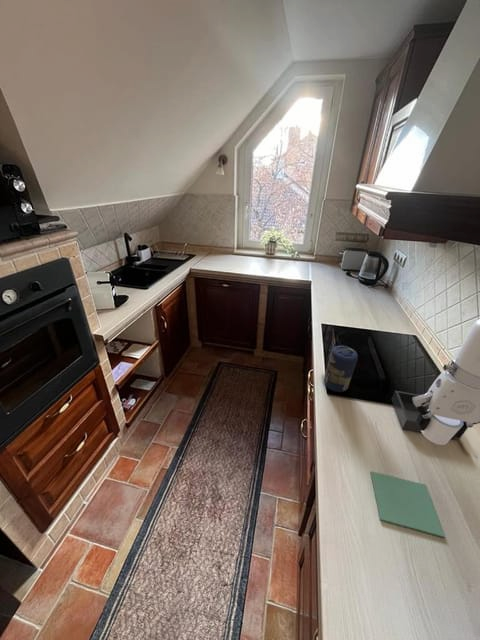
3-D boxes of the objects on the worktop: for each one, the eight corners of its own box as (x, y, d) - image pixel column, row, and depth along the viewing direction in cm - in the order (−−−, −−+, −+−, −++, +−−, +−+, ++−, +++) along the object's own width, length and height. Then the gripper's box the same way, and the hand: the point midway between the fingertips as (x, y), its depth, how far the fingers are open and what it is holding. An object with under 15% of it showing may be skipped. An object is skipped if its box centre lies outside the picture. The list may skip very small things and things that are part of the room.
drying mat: (424, 485, 69) (425, 484, 69) (444, 538, 59) (445, 537, 59) (370, 472, 72) (370, 471, 72) (379, 520, 62) (380, 519, 62)
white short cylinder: (411, 427, 65) (422, 408, 61) (429, 419, 67) (440, 400, 64) (438, 451, 59) (451, 431, 56) (457, 441, 62) (470, 422, 58)
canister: (321, 376, 107) (330, 340, 98) (344, 378, 106) (355, 343, 97) (325, 392, 99) (334, 355, 90) (350, 395, 98) (362, 358, 89)
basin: (436, 408, 93) (442, 398, 91) (454, 440, 82) (461, 430, 80) (391, 399, 97) (395, 390, 94) (401, 429, 85) (406, 419, 83)
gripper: (432, 377, 52) (402, 433, 61) (534, 395, 48) (487, 452, 57) (419, 356, 58) (394, 409, 67) (509, 370, 55) (470, 425, 63)
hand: (437, 429), depth 62 cm, fingers closed on white short cylinder, 6 cm apart
